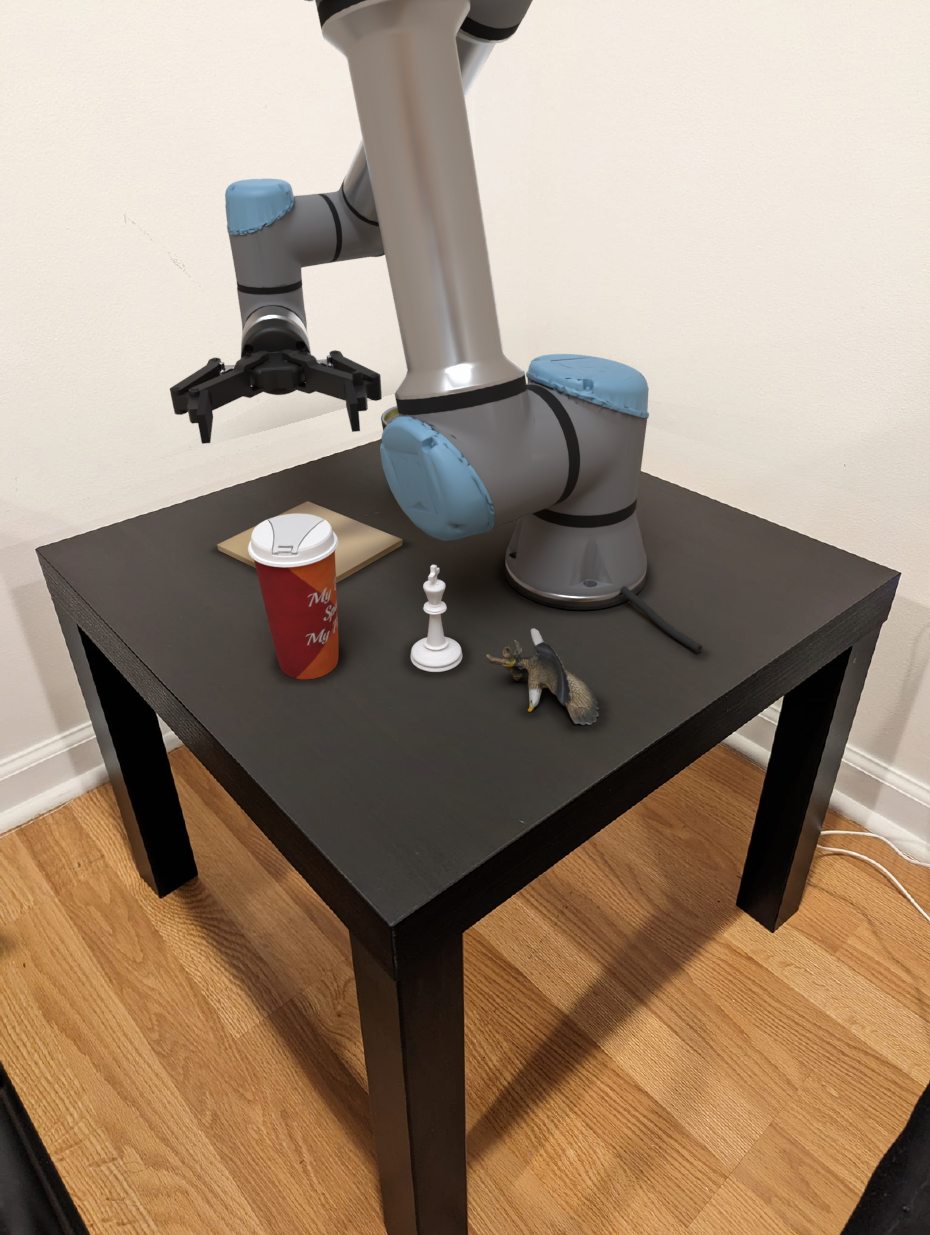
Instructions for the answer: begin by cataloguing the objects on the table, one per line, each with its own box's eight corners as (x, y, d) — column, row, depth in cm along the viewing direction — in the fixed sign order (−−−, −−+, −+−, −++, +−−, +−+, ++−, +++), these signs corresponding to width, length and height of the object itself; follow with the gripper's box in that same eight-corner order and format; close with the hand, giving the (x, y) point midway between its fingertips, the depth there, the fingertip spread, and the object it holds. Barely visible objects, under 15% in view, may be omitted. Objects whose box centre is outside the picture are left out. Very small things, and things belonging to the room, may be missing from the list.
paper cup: (344, 687, 79) (329, 553, 71) (260, 686, 79) (236, 553, 71) (354, 637, 85) (342, 509, 78) (277, 636, 86) (257, 509, 78)
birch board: (402, 545, 101) (402, 539, 100) (313, 596, 92) (312, 590, 91) (308, 506, 109) (307, 500, 108) (217, 550, 100) (216, 544, 99)
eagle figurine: (474, 700, 75) (561, 727, 70) (492, 620, 75) (580, 641, 70) (523, 703, 81) (606, 728, 76) (539, 628, 81) (624, 648, 76)
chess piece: (469, 646, 84) (468, 557, 78) (452, 676, 80) (450, 584, 74) (421, 637, 85) (417, 548, 80) (402, 666, 81) (397, 575, 76)
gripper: (389, 377, 100) (417, 450, 83) (166, 392, 96) (146, 473, 79) (386, 310, 96) (414, 373, 79) (152, 323, 92) (128, 393, 75)
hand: (280, 423), depth 79 cm, fingers open, 13 cm apart
